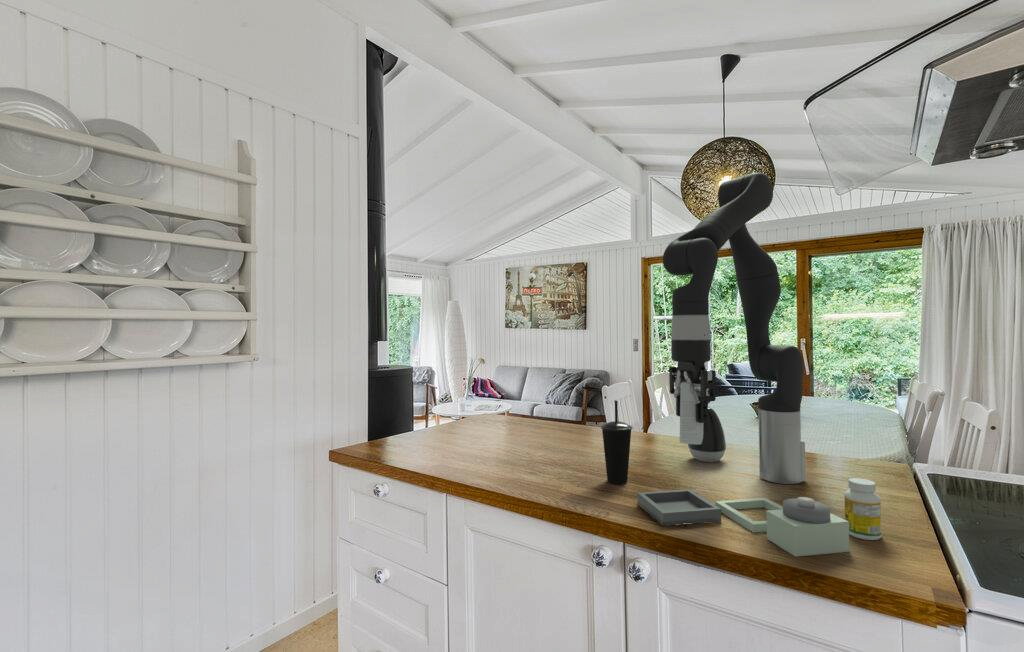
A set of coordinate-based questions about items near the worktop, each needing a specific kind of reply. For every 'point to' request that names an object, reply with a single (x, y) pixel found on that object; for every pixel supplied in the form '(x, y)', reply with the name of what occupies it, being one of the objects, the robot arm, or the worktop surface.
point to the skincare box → (689, 417)
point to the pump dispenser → (710, 440)
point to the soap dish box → (794, 524)
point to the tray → (678, 507)
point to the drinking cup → (616, 449)
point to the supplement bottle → (863, 509)
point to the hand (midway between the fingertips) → (691, 419)
